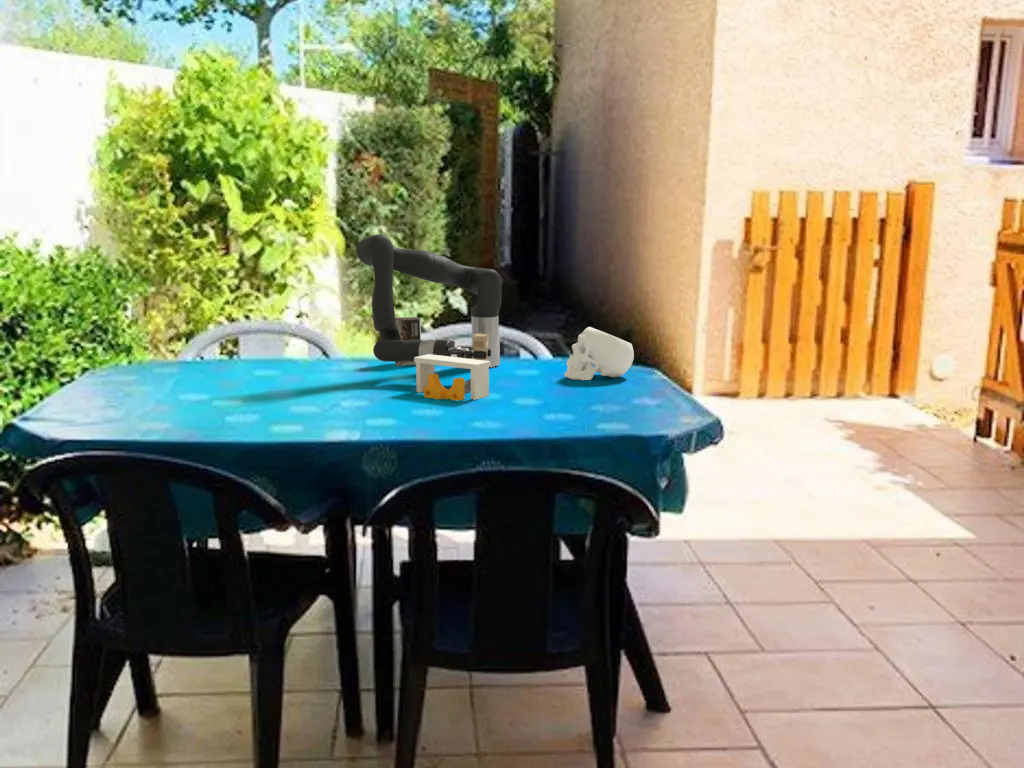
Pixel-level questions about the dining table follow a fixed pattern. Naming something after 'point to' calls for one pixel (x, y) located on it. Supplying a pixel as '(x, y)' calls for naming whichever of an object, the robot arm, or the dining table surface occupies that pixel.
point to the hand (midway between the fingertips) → (488, 353)
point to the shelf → (478, 367)
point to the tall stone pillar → (478, 345)
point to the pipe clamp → (444, 389)
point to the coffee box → (408, 333)
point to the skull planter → (598, 355)
